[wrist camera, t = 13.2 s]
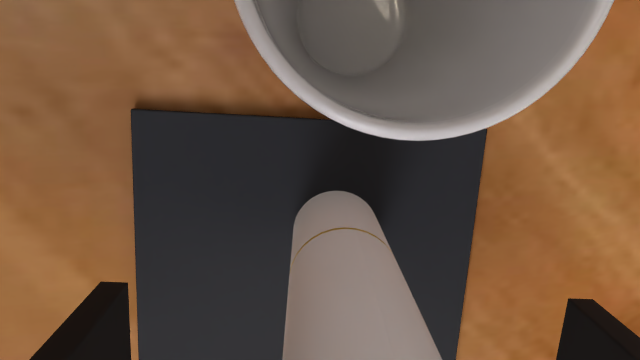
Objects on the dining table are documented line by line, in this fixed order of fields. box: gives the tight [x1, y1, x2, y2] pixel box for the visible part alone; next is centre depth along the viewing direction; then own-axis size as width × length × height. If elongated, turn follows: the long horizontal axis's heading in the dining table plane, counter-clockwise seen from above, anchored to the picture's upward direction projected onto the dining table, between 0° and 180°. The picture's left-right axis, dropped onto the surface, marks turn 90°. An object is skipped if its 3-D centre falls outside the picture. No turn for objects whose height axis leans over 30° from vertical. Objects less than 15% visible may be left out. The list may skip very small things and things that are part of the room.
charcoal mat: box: [131, 109, 487, 360], centre depth 25 cm, size 20×17×1 cm
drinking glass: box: [234, 0, 614, 141], centre depth 15 cm, size 7×7×15 cm
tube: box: [282, 191, 442, 360], centre depth 17 cm, size 4×4×15 cm
